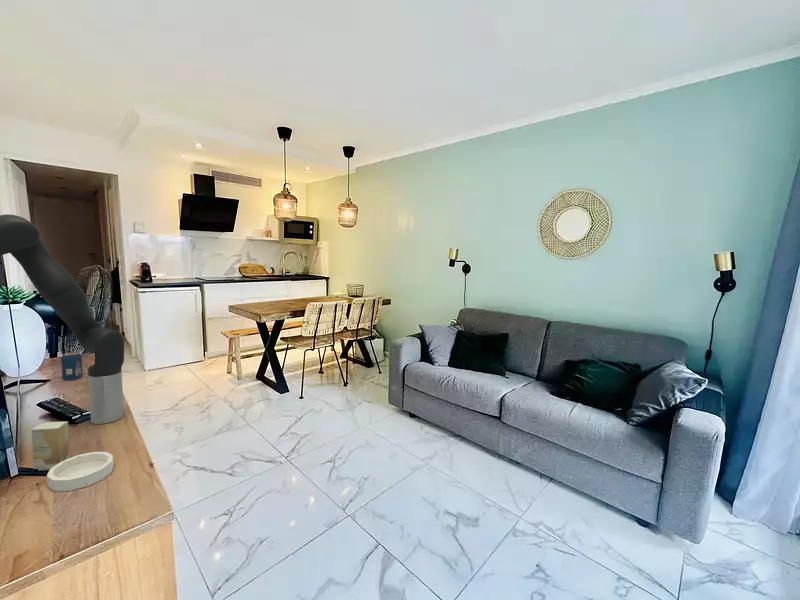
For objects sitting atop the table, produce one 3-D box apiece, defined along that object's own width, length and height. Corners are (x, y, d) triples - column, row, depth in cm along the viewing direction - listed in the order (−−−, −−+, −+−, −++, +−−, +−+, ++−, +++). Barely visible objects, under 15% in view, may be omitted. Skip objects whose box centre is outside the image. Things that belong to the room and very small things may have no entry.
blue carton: (66, 376, 165) (64, 352, 164) (85, 375, 168) (83, 351, 167) (59, 381, 159) (57, 356, 158) (79, 380, 162) (77, 355, 161)
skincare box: (32, 471, 96) (29, 429, 95) (43, 462, 100) (40, 422, 99) (61, 469, 98) (58, 427, 97) (71, 460, 102) (68, 420, 101)
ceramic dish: (39, 480, 93) (38, 470, 92) (98, 456, 104) (98, 447, 104) (62, 497, 87) (61, 486, 87) (122, 470, 99) (122, 460, 98)
